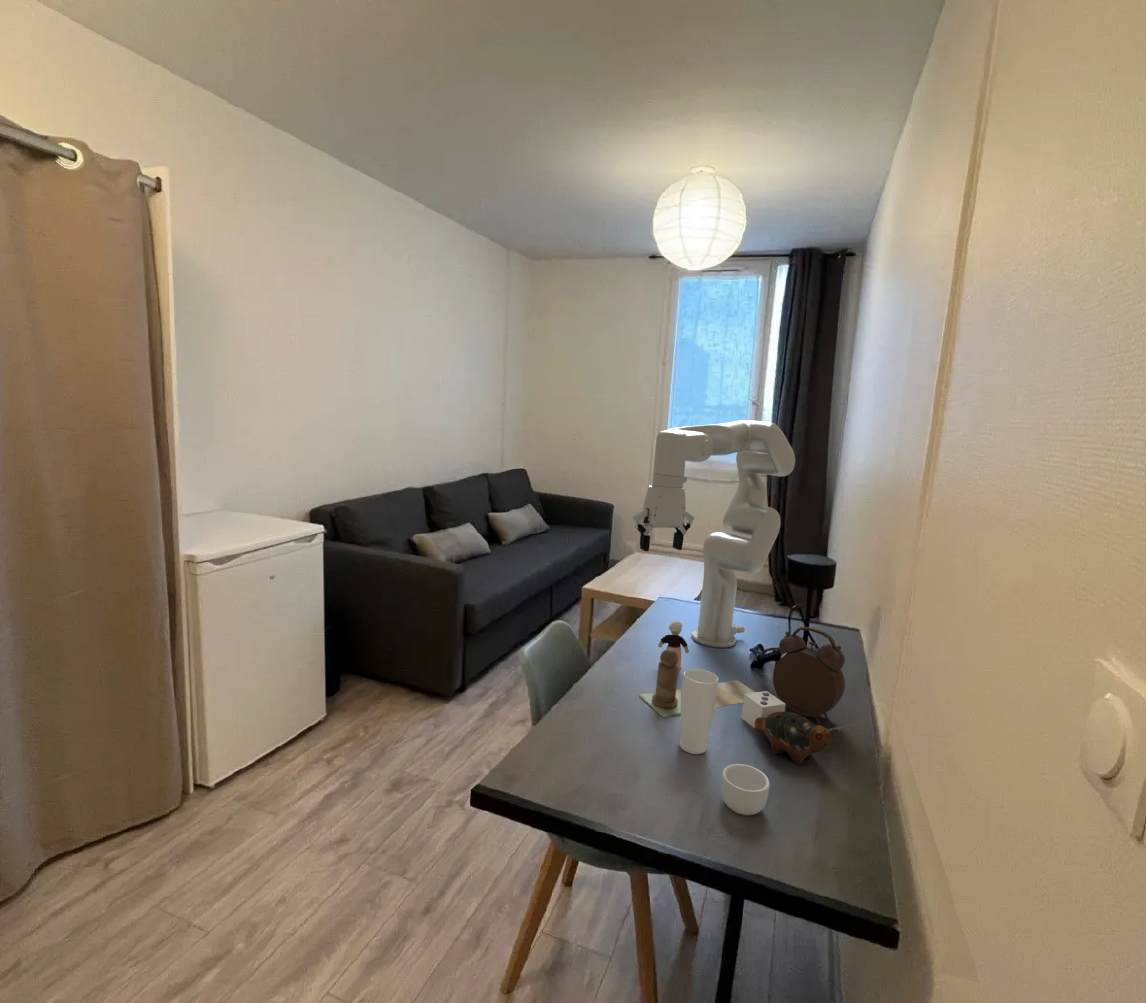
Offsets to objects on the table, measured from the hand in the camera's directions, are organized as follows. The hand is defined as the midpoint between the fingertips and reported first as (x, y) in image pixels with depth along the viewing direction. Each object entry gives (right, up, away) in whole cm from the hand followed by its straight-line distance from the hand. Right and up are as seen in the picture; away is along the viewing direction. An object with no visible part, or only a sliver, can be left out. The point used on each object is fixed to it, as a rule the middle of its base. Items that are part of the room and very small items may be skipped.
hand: (660, 549), depth 155 cm
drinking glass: (+1, -36, -34) cm, 50 cm away
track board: (+8, -33, -12) cm, 36 cm away
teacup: (+7, -39, -50) cm, 64 cm away
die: (+18, -36, -22) cm, 46 cm away
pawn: (-2, -33, -17) cm, 37 cm away
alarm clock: (+30, -36, -16) cm, 49 cm away
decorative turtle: (+21, -38, -33) cm, 54 cm away
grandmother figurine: (+3, -31, +3) cm, 31 cm away
